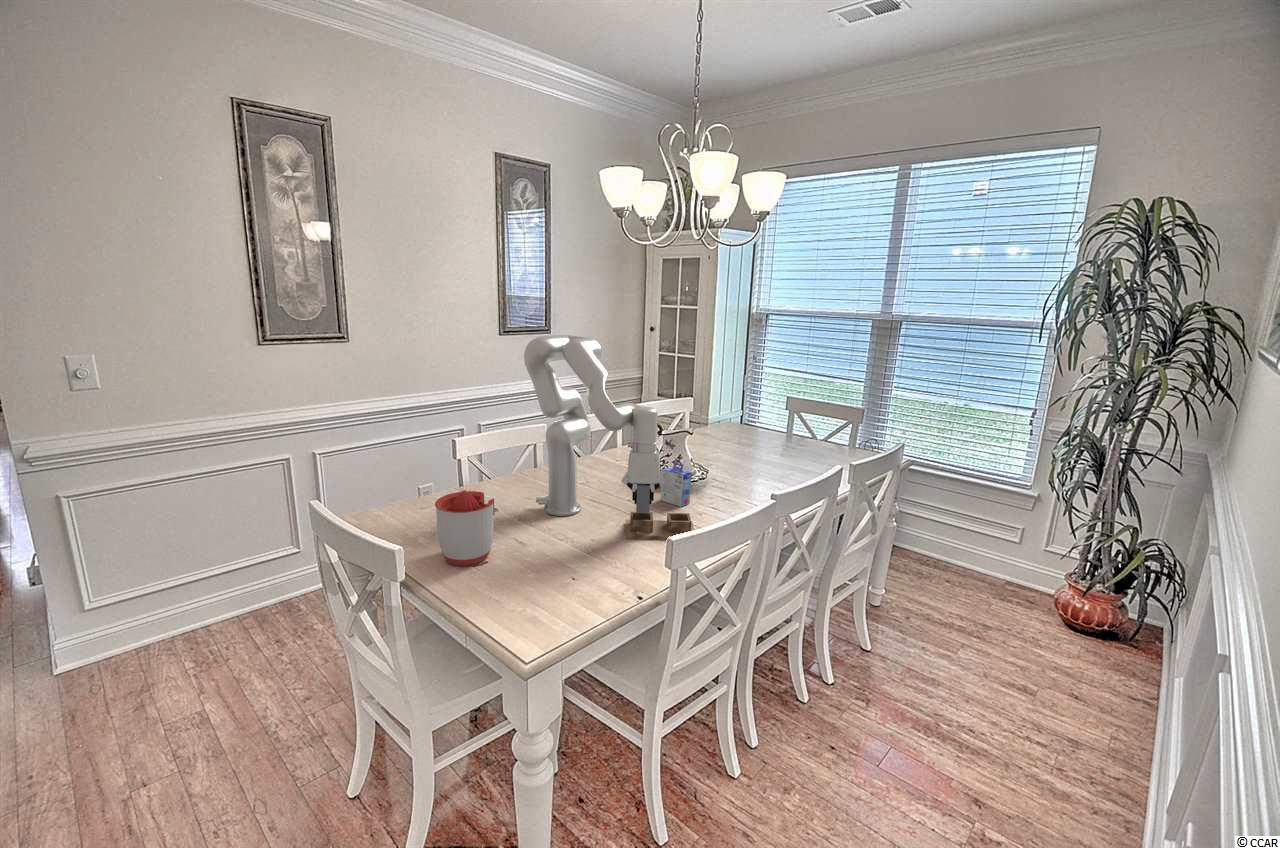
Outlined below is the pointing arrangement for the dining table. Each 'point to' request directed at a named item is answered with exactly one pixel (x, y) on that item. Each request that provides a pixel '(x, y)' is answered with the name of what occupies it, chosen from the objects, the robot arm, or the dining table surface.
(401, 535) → the dining table surface
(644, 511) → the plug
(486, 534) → the citrus juicer
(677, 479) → the ink cartridge box
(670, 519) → the socket board
